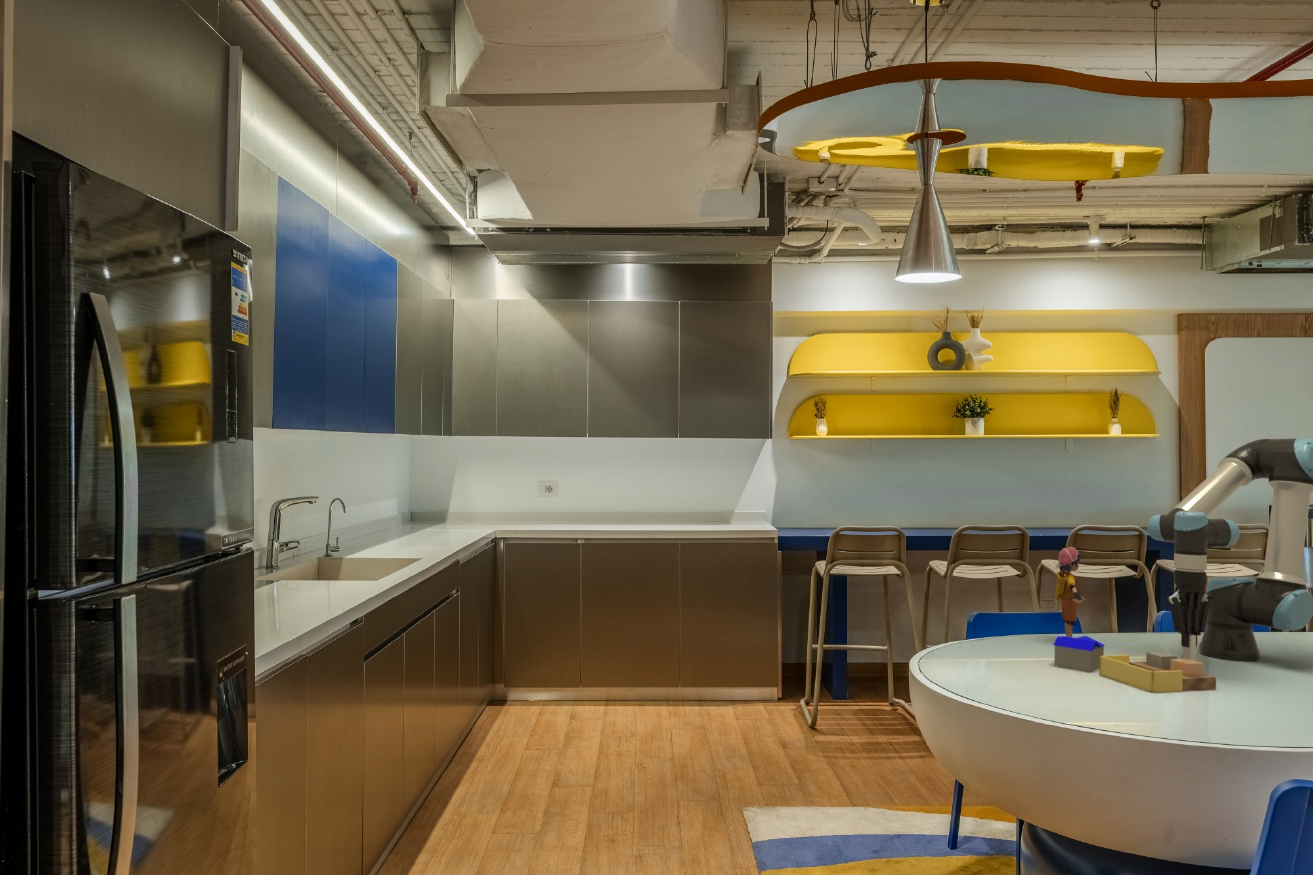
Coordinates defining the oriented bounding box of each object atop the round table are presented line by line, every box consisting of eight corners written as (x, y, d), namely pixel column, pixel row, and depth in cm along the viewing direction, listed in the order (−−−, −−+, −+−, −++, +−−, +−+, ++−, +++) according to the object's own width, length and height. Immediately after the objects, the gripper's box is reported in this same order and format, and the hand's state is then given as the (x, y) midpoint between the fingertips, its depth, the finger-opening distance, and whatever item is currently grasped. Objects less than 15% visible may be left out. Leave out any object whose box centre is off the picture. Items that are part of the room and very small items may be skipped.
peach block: (1186, 670, 232) (1186, 658, 232) (1202, 675, 227) (1202, 663, 227) (1170, 671, 230) (1170, 659, 230) (1186, 675, 226) (1186, 663, 226)
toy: (1090, 652, 265) (1091, 551, 265) (1064, 651, 266) (1065, 549, 267) (1070, 637, 288) (1071, 543, 289) (1045, 635, 289) (1047, 542, 290)
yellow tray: (1127, 673, 240) (1127, 654, 240) (1182, 691, 222) (1182, 670, 222) (1099, 674, 237) (1099, 655, 238) (1152, 692, 220) (1152, 672, 220)
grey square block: (1161, 663, 239) (1162, 651, 239) (1177, 667, 235) (1177, 656, 235) (1146, 663, 238) (1146, 652, 238) (1161, 668, 233) (1161, 656, 233)
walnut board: (1159, 672, 242) (1159, 660, 242) (1215, 689, 225) (1215, 677, 225) (1127, 673, 240) (1128, 662, 240) (1182, 691, 222) (1182, 678, 222)
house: (1065, 660, 255) (1065, 632, 255) (1105, 667, 247) (1105, 638, 247) (1050, 666, 247) (1051, 637, 247) (1091, 673, 240) (1091, 643, 240)
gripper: (1198, 567, 244) (1197, 655, 244) (1158, 568, 241) (1157, 656, 241) (1222, 571, 237) (1221, 661, 236) (1181, 572, 234) (1180, 663, 233)
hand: (1189, 659), depth 239 cm, fingers closed
